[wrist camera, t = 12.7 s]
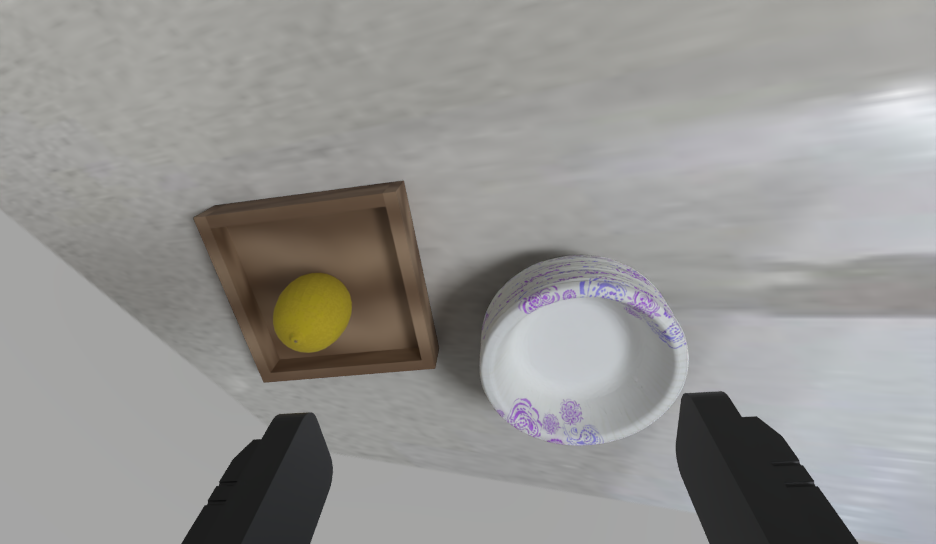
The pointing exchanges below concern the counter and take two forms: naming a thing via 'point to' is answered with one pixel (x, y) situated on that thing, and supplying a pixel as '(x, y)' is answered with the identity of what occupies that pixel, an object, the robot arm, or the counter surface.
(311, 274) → the lemon
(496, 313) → the paper bowls
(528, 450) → the counter surface
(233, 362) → the counter surface
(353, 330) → the walnut tray
